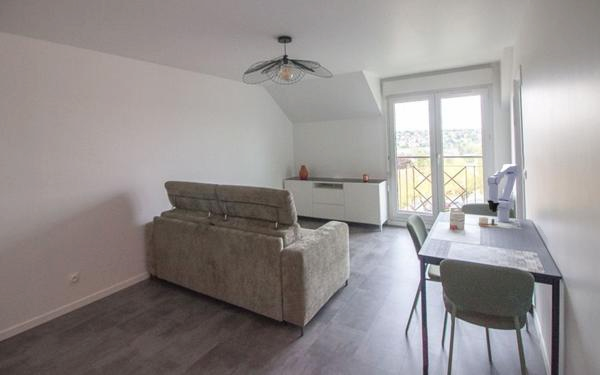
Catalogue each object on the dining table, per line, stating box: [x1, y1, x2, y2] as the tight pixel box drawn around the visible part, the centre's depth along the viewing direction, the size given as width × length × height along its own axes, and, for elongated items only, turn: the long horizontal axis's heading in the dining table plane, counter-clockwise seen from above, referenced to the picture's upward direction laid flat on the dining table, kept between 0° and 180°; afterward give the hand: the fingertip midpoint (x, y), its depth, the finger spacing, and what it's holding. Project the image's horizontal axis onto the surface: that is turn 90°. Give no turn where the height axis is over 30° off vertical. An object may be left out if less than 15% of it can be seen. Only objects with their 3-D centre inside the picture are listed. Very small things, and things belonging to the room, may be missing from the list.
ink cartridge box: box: [449, 207, 466, 230], centre depth 231 cm, size 9×5×15 cm, turn 84°
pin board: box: [477, 218, 500, 228], centre depth 236 cm, size 10×12×5 cm
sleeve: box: [478, 216, 489, 225], centre depth 237 cm, size 5×6×5 cm
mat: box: [495, 222, 513, 227], centre depth 236 cm, size 9×9×1 cm
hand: (492, 210), depth 240 cm, fingers open, 7 cm apart
